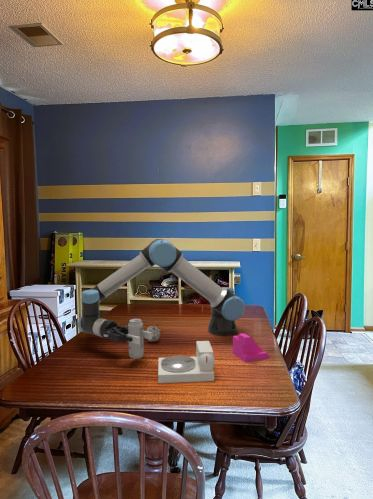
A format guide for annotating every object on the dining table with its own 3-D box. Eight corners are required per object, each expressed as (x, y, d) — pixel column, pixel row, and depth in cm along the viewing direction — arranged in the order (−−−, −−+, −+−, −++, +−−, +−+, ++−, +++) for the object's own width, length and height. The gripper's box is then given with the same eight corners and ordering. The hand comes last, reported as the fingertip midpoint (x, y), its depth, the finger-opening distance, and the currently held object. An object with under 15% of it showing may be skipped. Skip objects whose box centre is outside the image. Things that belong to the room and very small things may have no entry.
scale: (209, 363, 142) (209, 339, 141) (215, 380, 126) (215, 353, 125) (158, 365, 141) (158, 340, 140) (158, 383, 125) (157, 355, 124)
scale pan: (193, 357, 140) (193, 354, 140) (197, 371, 127) (197, 368, 127) (161, 359, 139) (161, 356, 139) (161, 373, 126) (161, 369, 126)
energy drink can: (130, 353, 146) (129, 318, 145) (144, 353, 146) (143, 318, 145) (127, 359, 140) (126, 322, 139) (142, 359, 140) (141, 322, 139)
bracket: (244, 362, 143) (245, 337, 142) (232, 353, 153) (232, 330, 152) (269, 358, 147) (270, 334, 146) (256, 349, 157) (257, 327, 156)
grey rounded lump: (155, 350, 167) (158, 338, 161) (139, 343, 168) (141, 330, 162) (163, 336, 174) (166, 324, 168) (147, 329, 175) (150, 317, 169)
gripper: (122, 331, 161) (160, 340, 147) (88, 343, 145) (128, 355, 132) (121, 315, 160) (160, 323, 146) (87, 325, 145) (127, 335, 131)
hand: (145, 338), depth 139 cm, fingers closed on energy drink can, 6 cm apart
